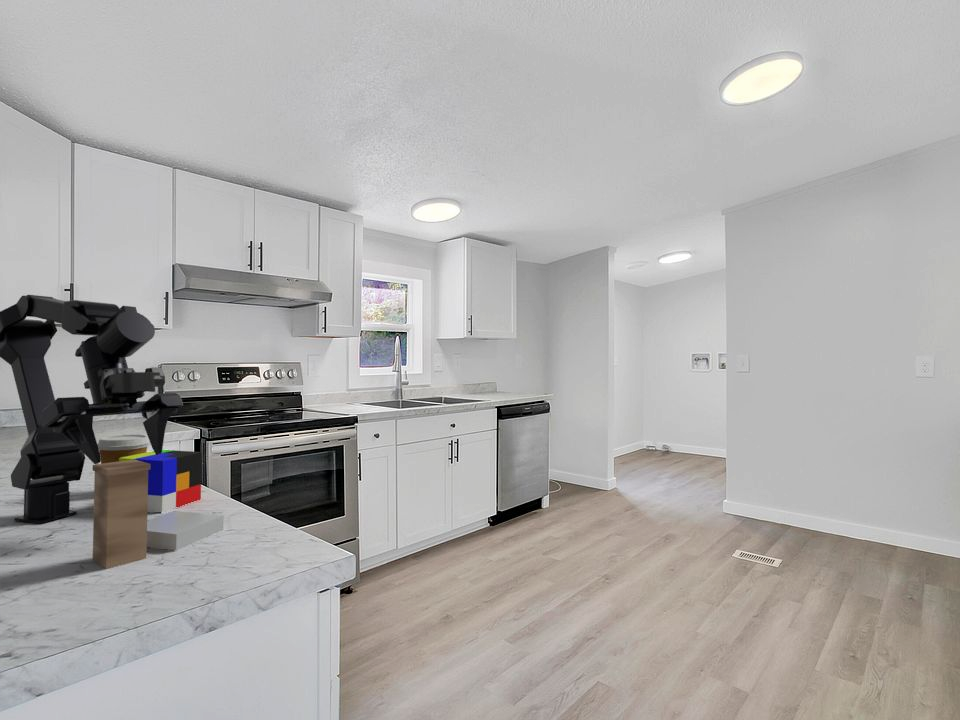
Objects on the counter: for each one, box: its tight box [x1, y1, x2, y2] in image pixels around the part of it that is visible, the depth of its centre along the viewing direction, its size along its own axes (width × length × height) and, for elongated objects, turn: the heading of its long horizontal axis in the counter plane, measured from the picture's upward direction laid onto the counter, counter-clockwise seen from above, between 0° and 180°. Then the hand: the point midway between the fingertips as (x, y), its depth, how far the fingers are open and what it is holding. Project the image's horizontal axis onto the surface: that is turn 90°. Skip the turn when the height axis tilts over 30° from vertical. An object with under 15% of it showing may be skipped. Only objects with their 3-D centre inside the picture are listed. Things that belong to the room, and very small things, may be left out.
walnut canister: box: [92, 460, 151, 570], centre depth 74 cm, size 5×5×14 cm
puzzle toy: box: [119, 449, 203, 513], centre depth 103 cm, size 10×10×10 cm
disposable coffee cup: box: [97, 434, 151, 464], centre depth 111 cm, size 10×10×12 cm
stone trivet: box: [147, 510, 225, 551], centre depth 84 cm, size 10×10×3 cm
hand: (130, 458), depth 82 cm, fingers open, 9 cm apart
